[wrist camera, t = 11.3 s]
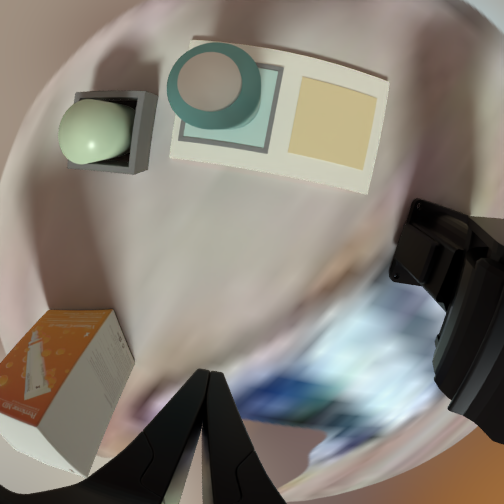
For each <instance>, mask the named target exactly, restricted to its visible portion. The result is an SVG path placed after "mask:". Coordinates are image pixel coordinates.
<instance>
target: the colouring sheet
mask: <svg viewBox="0 0 504 504" xmlns="http://www.w3.org/2000/svg"><path fill="white" fill-rule="evenodd" d="M212 42H217V41H204V40H191V41H190V45H189V49H188V51H189V50H190V49H192V48H194V47H196V46H199V45H202V44H206V43H212ZM221 43H227V42H221ZM228 44H232V45H234V46H237V47H239V48H241V49H242V50H244V51H245V52H246V53H248V54H249V55H250V56H251V57H252V59H253V60H254V61H255V63H256V65H257V67H258V69H259V72H260V76H261V105H260V109H259V112H258V114H257V115H256V117H255V118H254V119H253V120H252V121H251V122H250V123H249V124H247V125H246V126H244V127H241V128H238V129H232V130H207V129H201V128H197V127H194V126H191V125H189V124H188V123H186V122H184V121H183V120H182V119H180V118H179V117H178V116H177V115H175V121H174V127H173V133H172V140H171V147H170V154H169V158H175V159H183V160H191V161H198V162H206V163H212V164H219V165H226V166H232V167H238V168H244V169H250V170H255V171H261V172H266V173H272V174H277V175H282V176H287V177H292V178H297V179H302V180H307V181H311V182H316V183H320V184H325V185H329V186H333V187H338V188H342V189H346V190H350V191H354V192H358V193H362V194H366V195H367V193H368V189H369V185H370V181H371V177H372V173H373V169H374V164H375V160H376V155H377V151H378V146H379V141H380V136H381V131H382V126H383V121H384V115H385V110H386V104H387V98H388V92H389V85H390V82H388V81H385V80H383V79H380V78H377V77H375V76H372V75H369V74H366V73H363V72H360V71H357V70H354V69H351V68H348V67H345V66H341V65H338V64H335V63H331V62H327V61H324V60H320V59H316V58H312V57H308V56H304V55H299V54H295V53H290V52H285V51H280V50H275V49H269V48H264V47H257V46H251V45H244V44H236V43H228Z"/></svg>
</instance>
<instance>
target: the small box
mask: <svg viewBox="0 0 504 504" xmlns="http://www.w3.org/2000/svg"><path fill="white" fill-rule="evenodd" d="M134 365H135V362H134V360H133V357H132V355H131V353H130V350H129V348H128V346H127V343H126V341H125V338H124V336H123V333H122V331H121V328H120V326H119V323H118V321H117V318H116V315H115V313H114V310H113V309H107V310H48V311H47V312H46V313H45V314H44V315H43V316H42V317H41V318H40V319H39V320H38V321H37V322H36V324H35V325H34V326H33V327H32V328H31V329H30V330H29V331H28V332H27V333H26V334H25V336H24V337H23V338H22V339H21V340H20V341H19V342H18V343H17V344H16V346H15V347H14V348H13V349H12V350H11V351H10V352H9V354H8V355H7V356H6V357H5V358H4V360H3V361H2V362H1V363H0V434H1V436H2V437H3V438H4V439H5V440H6V441H7V442H8V443H9V444H10V445H11V446H12V447H13V448H14V450H16V451H19V452H21V453H23V454H26V455H28V456H30V457H32V458H34V459H36V460H38V461H40V462H42V463H44V464H46V465H49V466H51V467H55V468H58V469H61V470H64V471H67V472H70V473H73V474H76V475H79V476H82V477H84V478H88V475H89V472H90V469H91V467H92V464H93V461H94V459H95V456H96V454H97V451H98V449H99V446H100V443H101V441H102V439H103V436H104V434H105V431H106V429H107V426H108V424H109V422H110V419H111V417H112V414H113V412H114V410H115V408H116V405H117V403H118V401H119V398H120V396H121V394H122V391H123V389H124V387H125V385H126V382H127V380H128V378H129V376H130V374H131V371H132V369H133V367H134Z"/></svg>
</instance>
